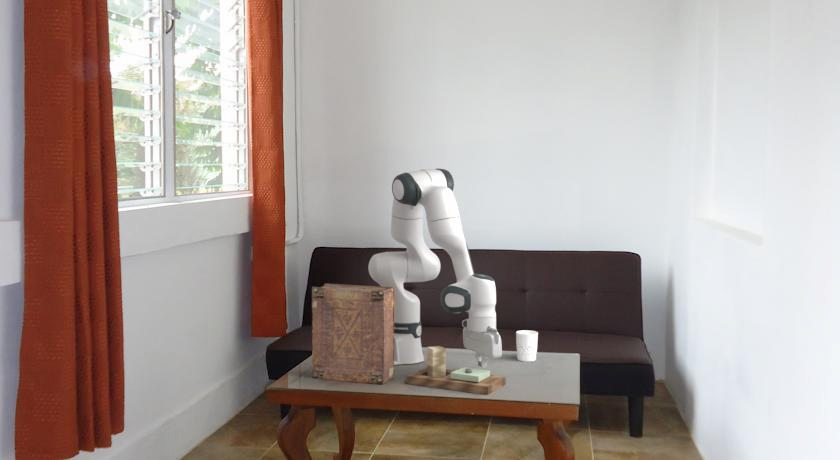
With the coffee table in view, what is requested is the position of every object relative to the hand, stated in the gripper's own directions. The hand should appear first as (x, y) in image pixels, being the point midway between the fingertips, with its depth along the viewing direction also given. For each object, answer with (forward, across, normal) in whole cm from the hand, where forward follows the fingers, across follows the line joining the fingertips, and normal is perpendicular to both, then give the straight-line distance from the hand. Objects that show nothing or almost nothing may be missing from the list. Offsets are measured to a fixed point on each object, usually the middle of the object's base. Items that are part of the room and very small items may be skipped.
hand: (482, 366), depth 277 cm
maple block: (+4, +4, +14) cm, 16 cm away
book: (+4, +19, +38) cm, 42 cm away
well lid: (+2, -5, +7) cm, 9 cm away
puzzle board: (+4, -1, +10) cm, 11 cm away
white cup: (+4, +20, -29) cm, 35 cm away
